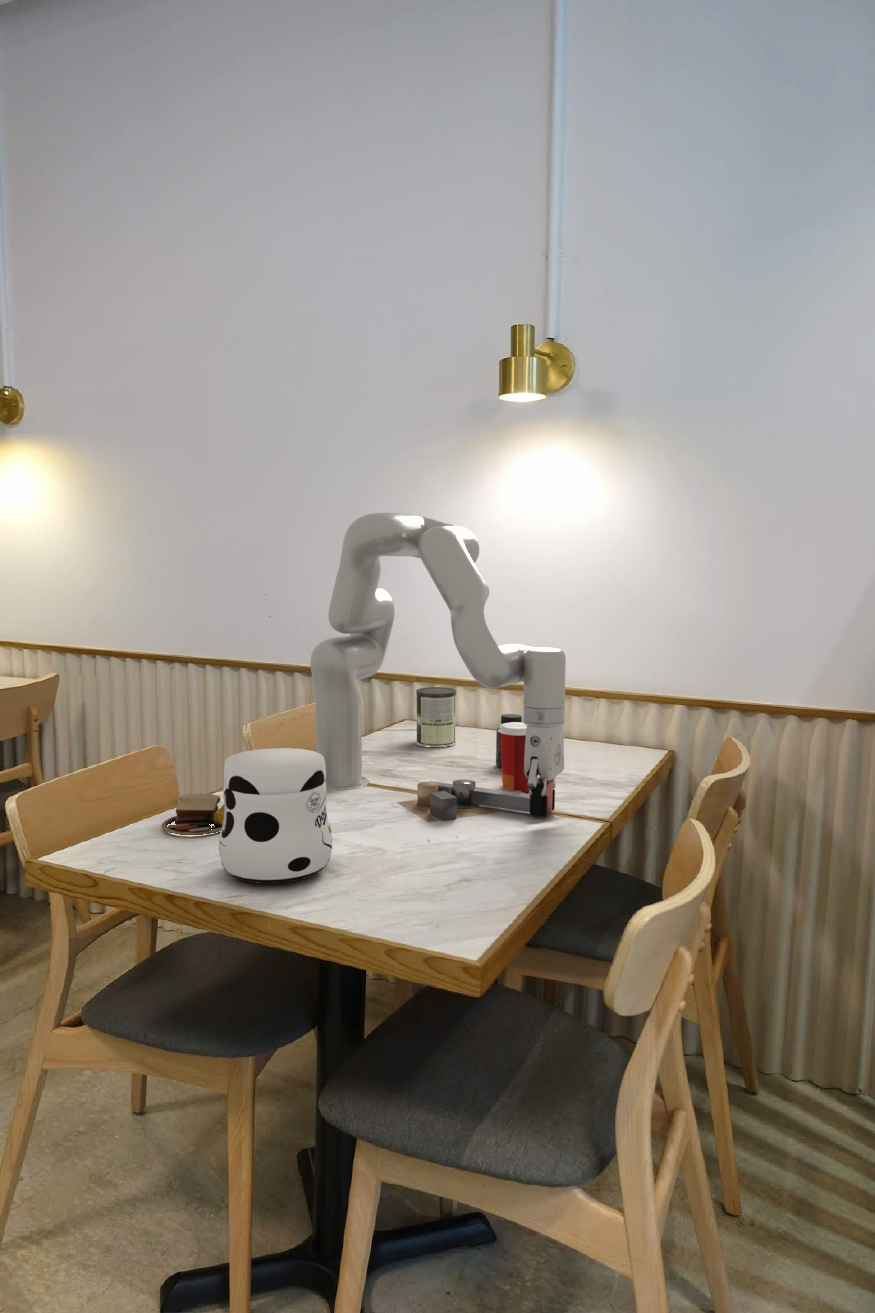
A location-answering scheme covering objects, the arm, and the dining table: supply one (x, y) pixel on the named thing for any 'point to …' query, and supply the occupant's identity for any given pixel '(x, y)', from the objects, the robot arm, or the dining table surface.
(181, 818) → the toy sandwich meal
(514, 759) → the paper cup
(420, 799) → the cylinder
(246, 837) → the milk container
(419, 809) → the base
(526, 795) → the lever
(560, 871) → the dining table surface
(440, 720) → the coffee can
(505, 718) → the supplement bottle
